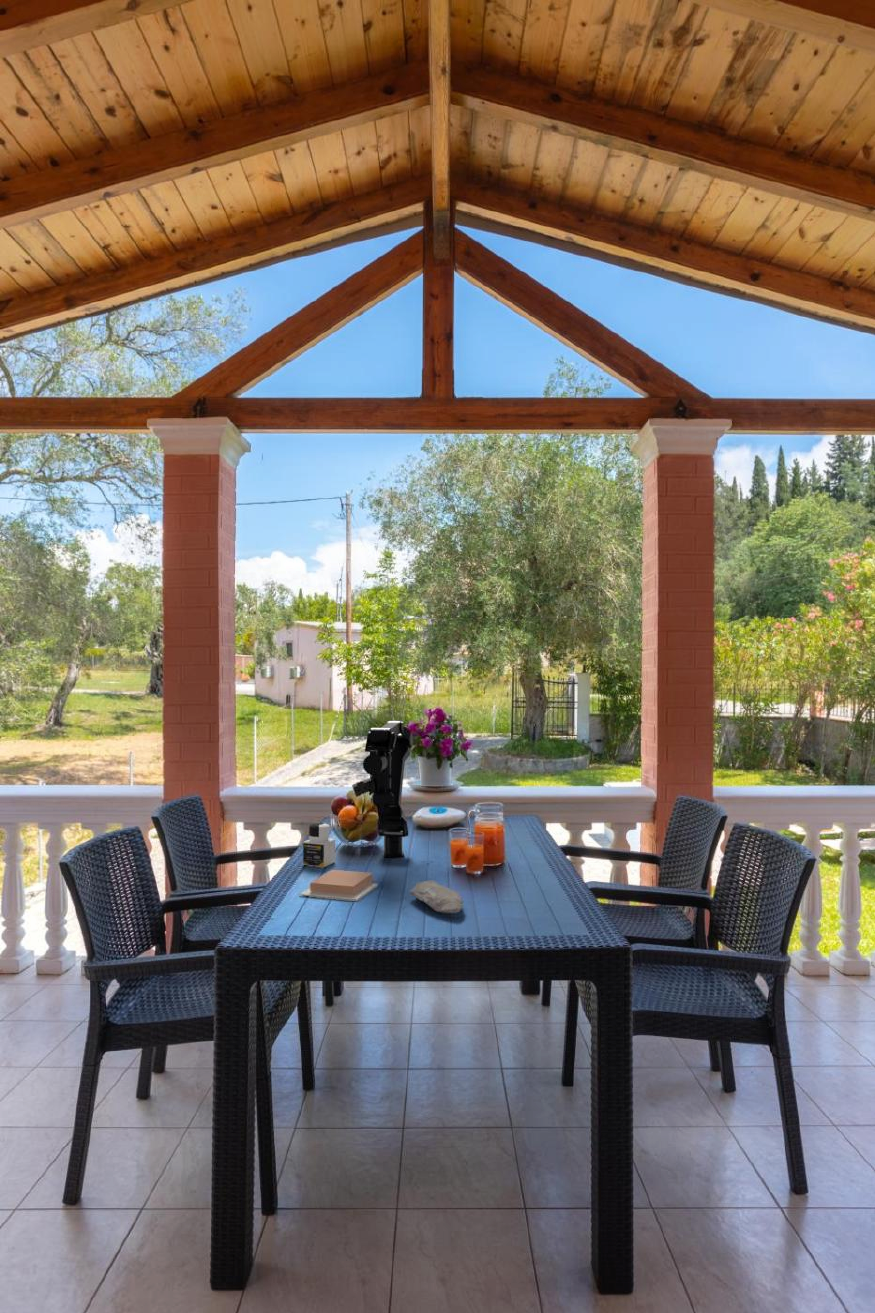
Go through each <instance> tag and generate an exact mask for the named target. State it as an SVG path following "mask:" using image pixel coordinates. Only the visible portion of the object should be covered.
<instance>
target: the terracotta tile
mask: <svg viewBox="0 0 875 1313" xmlns="http://www.w3.org/2000/svg"><path fill="white" fill-rule="evenodd" d="M373 875H374V874H373V872H366V871H352V870H351V871H350V870H341V869H340V870H338V869H331V870H329V871H328V872H326V873H324V874H323V875H321V876H320V877H318V878H316V879H314V880H312V881H310V883H309V886H310V887H309V888H310V891H311V892H314V893H325V894H337V895H348V896H353V895H355V894H356V893H357V892H359V891H360V890H362V889H363V888H364V887H366V886H367V885H369V884H370V883H372V882H373V881H374V880H373V879H374V877H373Z"/></svg>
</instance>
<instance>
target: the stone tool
mask: <svg viewBox="0 0 875 1313" xmlns="http://www.w3.org/2000/svg"><path fill="white" fill-rule="evenodd" d="M408 893H409V894H411V895H413V896H415V898H416V899H418V900H419V901H422V902H423V903H425V904H426V905H427V906H429V907H430V908H432V910H433V911H435V912H438V913H442V914H446V915H448V914H449V915H452V914H456V913H459V912H460V911H461V910H462V909H463V908H464V906H463V903H464V900H463V898H462V897H461V895H460V894H459V892H457V891H455V890H453V889H451V888H449V887H446V886H443V885H441V884H439V883H438V882H437V881H435V880H425V881H419V882H416V883H415V886H414V887H413V888H412V889H410V890H409V891H408Z"/></svg>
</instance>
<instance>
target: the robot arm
mask: <svg viewBox="0 0 875 1313" xmlns="http://www.w3.org/2000/svg"><path fill="white" fill-rule="evenodd" d="M366 736H367V737H366V742H365V747H364V752H365V753H369V755H367V756H366V757H365V758H364V759H363V762H362V767H363V770H364V771H365V773H366V774H368V775H369V778H367V779H364V780H360V781H357V782H356V783H353V784H351V788H352V790H353V792H354V795H355V797H357V798H358V797H360V796H361V795H364V794H367V793H368V795H369V796H371V797H369V799H370V801H371V803H372V804H373V805H374V806H375V809H376V814H377V832H378V834H377V835H378V837H383V851H381V852H382V857H383V858H397V857H398V858H399V857H400V858H403V857H405V853H404V851H403V838H406V837H409V832H410V831H409V825H408V822H407V819H406V817H405V816H406V814H405V812H404V810H403V808H402V804H401V803H402V794H403V786H404V785H403V783H404V776H405V775H404V773H405V763H406V760H408V758H409V757H410V755H411V753H412V752H411V751H412V748H414V738H413V733H412V731H411V730H410V729H408V728H407V727H406V726H405V724H404V722H403V721H402V720H389V721H387V722H386V723H385V725H383V726H381V727H371V728H370V729H369V731H368V733H367V735H366Z"/></svg>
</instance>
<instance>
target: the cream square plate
mask: <svg viewBox="0 0 875 1313" xmlns="http://www.w3.org/2000/svg"><path fill="white" fill-rule="evenodd" d="M378 886H379V883H372V882H371V883H370V884H369V885H367V886H366V887H364V888H363V889H362V890H360V891H359V892H357V893H356V894H355V895H353V896H348V895H337V894H325V893H314V892H311V891H310V887H308V888H306V889H305V890H304V891H302V892H300V893H299V895H302V896H309V897H308V898H311V897H316V898H315V899H322V898H325V900H334V899H335V901H337V900H338V901H347V902H356V903H357V902H359V901H360V900H361V899H363V898H364V897H365V896H366V895H368V894H369V893H371V892H372V891H373V890H374V889H377V887H378Z"/></svg>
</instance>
